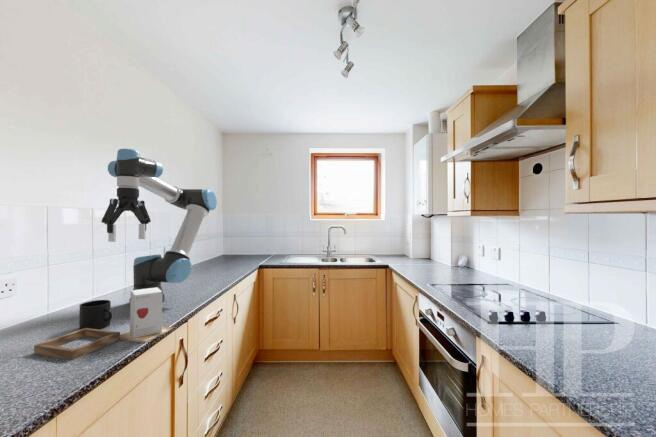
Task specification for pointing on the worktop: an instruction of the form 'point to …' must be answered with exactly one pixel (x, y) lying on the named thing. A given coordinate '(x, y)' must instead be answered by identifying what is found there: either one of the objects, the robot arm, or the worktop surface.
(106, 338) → the walnut frame
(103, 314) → the mug
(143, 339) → the light wooden block
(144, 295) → the supplement box
